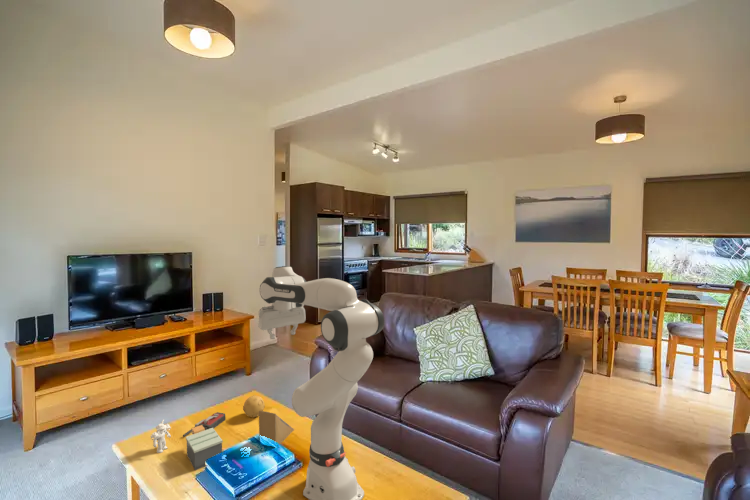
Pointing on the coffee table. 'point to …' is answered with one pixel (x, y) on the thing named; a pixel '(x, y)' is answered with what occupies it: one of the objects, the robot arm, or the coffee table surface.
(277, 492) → the coffee table surface
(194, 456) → the parts tub
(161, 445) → the flower shoulder figurine
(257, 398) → the stress ball
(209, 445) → the lid
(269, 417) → the sandwich container
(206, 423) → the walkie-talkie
